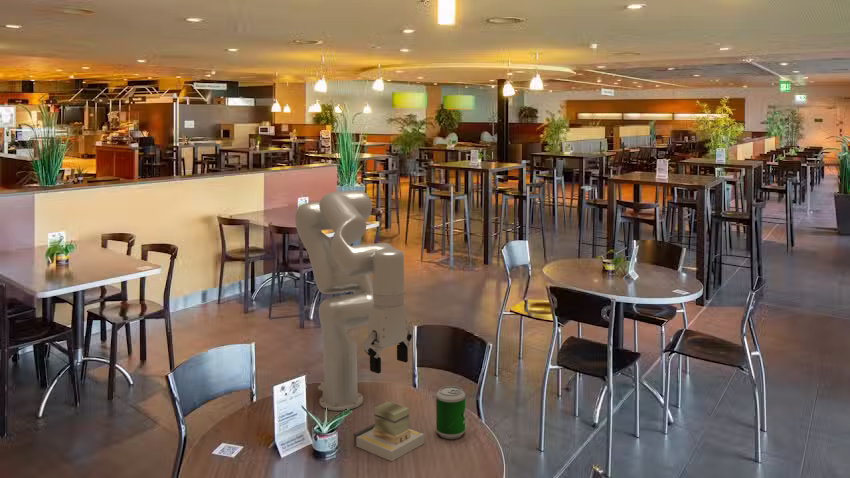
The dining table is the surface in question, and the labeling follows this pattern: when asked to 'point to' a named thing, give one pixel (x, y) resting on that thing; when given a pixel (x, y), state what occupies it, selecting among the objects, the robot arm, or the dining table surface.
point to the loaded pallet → (391, 422)
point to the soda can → (450, 412)
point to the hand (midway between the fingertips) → (389, 366)
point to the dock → (386, 443)
